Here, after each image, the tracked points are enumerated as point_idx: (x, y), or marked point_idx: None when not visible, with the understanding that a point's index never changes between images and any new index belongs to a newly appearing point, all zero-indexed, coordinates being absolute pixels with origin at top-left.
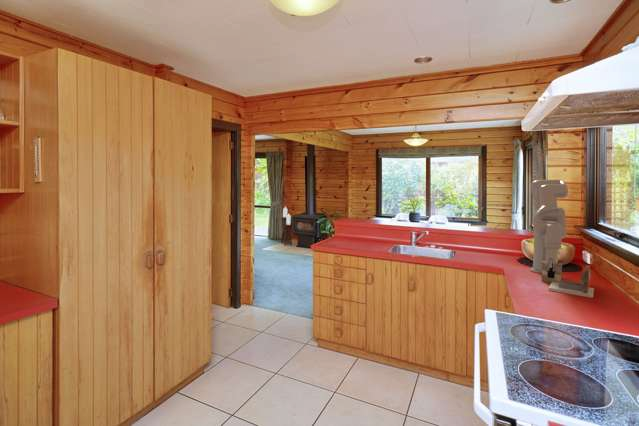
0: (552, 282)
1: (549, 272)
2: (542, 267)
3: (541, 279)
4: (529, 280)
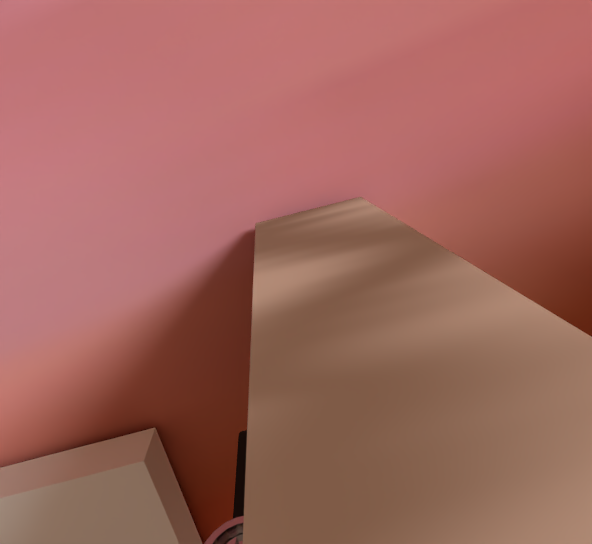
0: (105, 481)
1: (234, 511)
2: (253, 386)
3: (255, 229)
4: (100, 30)
